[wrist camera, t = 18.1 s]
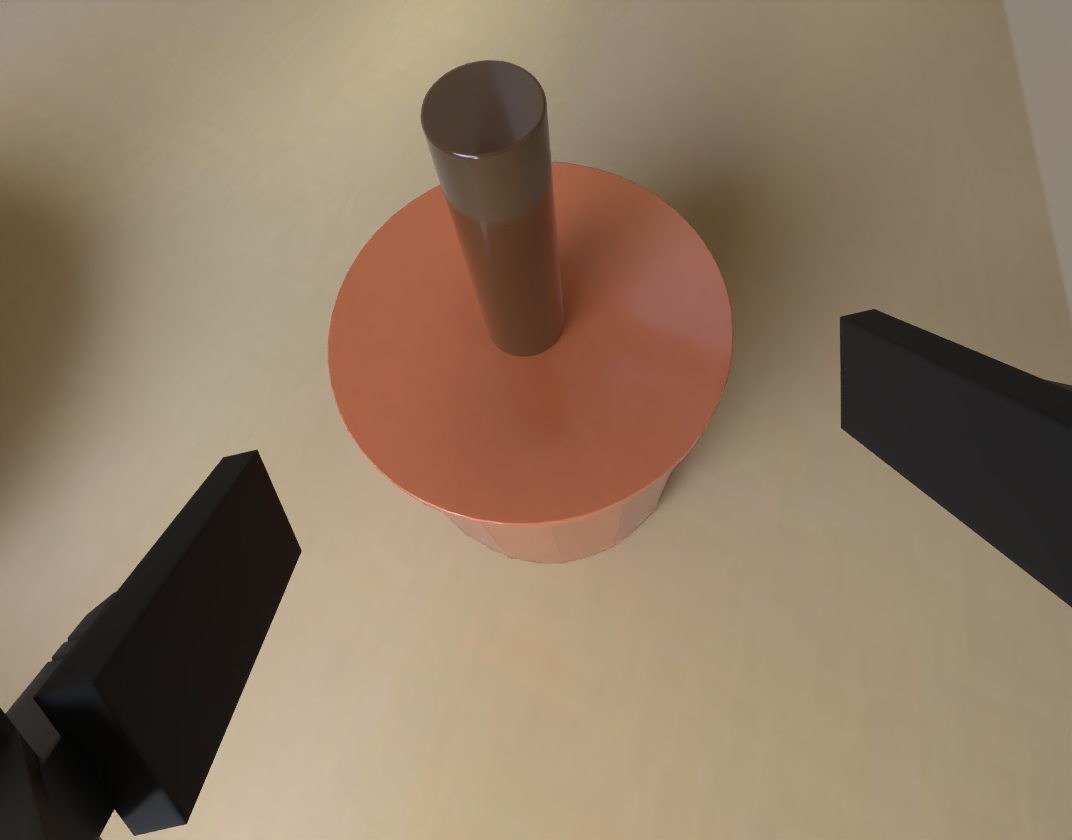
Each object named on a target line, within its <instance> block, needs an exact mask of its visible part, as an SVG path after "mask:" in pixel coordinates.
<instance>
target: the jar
mask: <svg viewBox="0 0 1072 840" xmlns="http://www.w3.org/2000/svg"><path fill="white" fill-rule="evenodd" d="M673 469H674V468H673ZM673 469H672V470H671V471H670V472H669V473H668V474H667V475H666V476H665V477H664V478H662V479H661V480H660V481H658V482H657V483H656V484H654V485H653V486H652V487H650V488H649V489H648V490H646V491H645V492H644V493H642V494H640V495H638V496H637V497H635V498H633V499H631V500H630V501H628V502H626V503H624V504H622V505H621V506H619V507H616V508H614V509H611V510H609V511H606V512H604V513H601V514H599V515H596V516H594V517H591V518H587V519H583V520H579V521H575V522H571V523H567V524H563V525H555V526H547V527H539V528H505V527H498V526H491V525H484V524H477V523H474V522H470V521H467V520H463V519H460V518H456V517H453V516H450V515H448V514H445V513H443V512H442V513H443V514H444V515H445V516H446V517H447V518H449V519H450V520H451V521H452V522H453V523H454V524H455V525H456V526H457V527H458V528H459V529H460V530H461V531H462V532H463V533H464V534H465V535H467V536H468V537H470V538H472V539H474V540H476V541H478V542H480V543H481V544H483V545H485V546H486V547H488V548H489V549H492V550H494V551H496V552H498V553H501V554H502V555H504V556H506V557H508V558H511V559H519V560H524V561H530V562H537V563H563V562H564V563H565V562H568V561H574V560H577V559H581V558H585V557H589V556H592V555H594V554H596V553H599V552H601V551H604V550H606V549H608V548H611V547H613V546H614V545H616V544H617V543H619V542H620V541H621V540H623V539H624V538H625V537H626V536H628V535H629V534H630V533H632V532H633V531H634V530H635V529H636V528H637V527H638V526H639V525H640V524H641V523H642V522H643V521H644V520H645V519H646V518H647V517H648V516H649V515H650V514H652V512H653V511H654V510H655V508H656V505H657V503H658V501H659V499H660V497H661V495H662V493H663V491H664V488H665V486H666V484H667V482H668V480H669V478H670V476H671V474H672V471H673Z"/></svg>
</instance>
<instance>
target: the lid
mask: <svg viewBox="0 0 1072 840" xmlns="http://www.w3.org/2000/svg"><path fill="white" fill-rule="evenodd" d="M421 124H422V128H423V131H424V135H425V138H426V141H427V144H428V147H429V150H430V153H431V156H432V159H433V163H434V166H435V169H436V172H437V175H438V178H439V181H440V184H441V185H439V186H437V187H435V188H433V189H431V190H429V191H427V192H426V193H424V194H423V195H421V196H419V197H418V198H416V199H415V200H413V201H411V202H410V203H409V204H407V205H406V206H405V207H403V208H402V209H401V210H400V211H398V212H397V213H396V214H395V215H393V216H392V217H391V218H390V219H389V220H388V221H387V222H386V223H385V224H384V225H383V226H382V227H381V228H380V229H379V230H378V231H377V232H376V233H375V234H374V235H373V236H372V238H371V239H370V240H369V241H368V243H367V244H366V245H365V247H364V248H363V249H362V250H361V252H360V253H359V255H358V256H357V258H356V260H355V261H354V263H353V264H352V266H351V268H350V269H349V271H348V273H347V275H346V277H345V280H344V282H343V284H342V286H341V288H340V291H339V293H338V296H337V300H336V303H335V306H334V310H333V313H332V317H331V324H330V330H329V337H328V366H329V373H330V381H331V387H332V390H333V394H334V397H335V400H336V404H337V407H338V410H339V412H340V414H341V416H342V419H343V421H344V423H345V425H346V427H347V429H348V431H349V433H350V434H351V436H352V437H353V439H354V440H355V442H356V443H357V445H358V446H359V448H360V450H361V451H362V452H363V453H364V454H365V456H366V457H367V458H368V459H369V460H370V461H371V462H372V463H373V465H374V466H375V467H376V468H377V469H378V470H379V471H380V472H381V473H382V474H383V475H385V476H386V477H387V478H388V479H389V480H391V481H392V482H393V483H394V484H395V485H397V486H398V487H399V488H400V489H401V490H403V491H404V492H406V493H407V494H409V495H410V496H412V497H414V498H415V499H417V500H419V501H420V502H422V503H423V504H425V505H427V506H429V507H432V508H434V509H436V510H438V511H441V512H443V513H445V514H448V515H450V516H453V517H456V518H460V519H463V520H467V521H470V522H474V523H477V524H484V525H491V526H498V527H505V528H539V527H547V526H555V525H563V524H567V523H571V522H575V521H579V520H583V519H587V518H591V517H594V516H596V515H599V514H601V513H604V512H606V511H609V510H611V509H614V508H616V507H619V506H621V505H622V504H624V503H626V502H628V501H630V500H631V499H633V498H635V497H637V496H638V495H640V494H642V493H644V492H645V491H646V490H648V489H649V488H650V487H652V486H653V485H654V484H656V483H657V482H658V481H660V480H661V479H662V478H664V477H665V476H666V475H667V474H668V473H669V472H670V471H671V470H672V469H673V468H674V467H675V466H676V465H677V464H678V463H679V462H680V461H681V460H682V459H683V458H684V457H685V456H686V455H687V454H688V453H689V451H690V450H691V449H692V447H693V446H694V445H695V443H696V442H697V441H698V439H699V438H700V437H701V435H702V434H703V432H704V430H705V429H706V427H707V425H708V423H709V421H710V420H711V418H712V416H713V414H714V412H715V410H716V408H717V406H718V404H719V401H720V399H721V396H722V393H723V391H724V388H725V385H726V383H727V379H728V374H729V369H730V365H731V360H732V352H733V335H734V331H733V320H732V309H731V304H730V300H729V296H728V292H727V288H726V284H725V282H724V279H723V277H722V275H721V272H720V270H719V267H718V265H717V263H716V261H715V259H714V257H713V256H712V254H711V252H710V251H709V249H708V247H707V246H706V244H705V242H704V241H703V240H702V238H701V237H700V236H699V235H698V233H697V232H696V231H695V230H694V228H693V227H692V226H691V225H690V224H689V223H688V222H687V221H686V220H685V219H684V218H683V217H682V216H681V215H680V214H679V213H678V212H677V211H676V210H675V209H674V208H673V207H671V206H670V205H669V204H667V203H666V202H664V201H663V200H662V199H660V198H659V197H658V196H656V195H655V194H653V193H652V192H650V191H648V190H646V189H645V188H643V187H641V186H639V185H637V184H636V183H634V182H631V181H629V180H627V179H624V178H622V177H619V176H617V175H615V174H612V173H609V172H605V171H602V170H598V169H595V168H591V167H587V166H581V165H575V164H569V163H558V162H551V150H550V137H549V125H548V113H547V102H546V96H545V93H544V90H543V89H542V87H541V85H540V83H539V82H538V81H537V79H536V78H535V77H534V76H533V75H532V74H531V73H529V72H528V71H527V70H525V69H523V68H521V67H520V66H517V65H515V64H512V63H508V62H503V61H495V60H486V61H477V62H472V63H468V64H465V65H462V66H459V67H457V68H455V69H453V70H451V71H449V72H448V73H446V74H445V75H443V76H442V77H441V78H439V79H438V80H437V81H436V82H435V83H434V84H433V86H432V87H431V88H430V89H429V91H428V93H427V94H426V96H425V98H424V101H423V104H422V109H421Z"/></svg>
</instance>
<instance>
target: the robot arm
mask: <svg viewBox="0 0 1072 840" xmlns="http://www.w3.org/2000/svg"><path fill="white" fill-rule="evenodd" d="M840 360H841V428H842V429H843V430H844V431H846V432H847V433H848V434H849V435H851V436H852V437H853V438H855V439H856V440H857V441H858V442H860V443H861V444H862V445H864V446H865V447H866V448H867V449H869V450H870V451H871V452H873V453H874V454H875V455H876V456H878V457H879V458H880V459H882V460H883V461H884V462H885V463H887V464H888V465H889V466H891V467H892V468H893V469H894V470H896V471H897V472H898V473H900V474H901V475H902V476H903V477H905V478H906V479H907V480H909V481H910V482H911V483H912V484H914V485H915V486H916V487H918V488H919V489H920V490H921V491H923V492H924V493H925V494H927V495H928V496H929V497H930V498H932V499H933V500H934V501H936V502H937V503H938V504H940V505H941V506H942V507H943V508H945V509H946V510H947V511H949V512H950V513H951V514H952V515H954V516H955V517H956V518H958V519H959V520H960V521H961V522H963V523H964V524H965V525H967V526H968V527H969V528H970V529H972V530H973V531H974V532H976V533H977V534H978V535H979V536H981V537H982V538H983V539H985V540H986V541H987V542H988V543H990V544H991V545H992V546H994V547H995V548H996V549H997V550H999V551H1000V552H1001V553H1003V554H1004V555H1005V556H1006V557H1008V558H1009V559H1010V560H1012V561H1013V562H1014V563H1015V564H1017V565H1018V566H1019V567H1021V568H1022V569H1023V570H1024V571H1026V572H1027V573H1028V574H1030V575H1031V576H1032V577H1033V578H1035V579H1036V580H1037V581H1039V582H1040V583H1041V584H1042V585H1044V586H1045V587H1046V588H1048V589H1049V590H1050V591H1051V592H1053V593H1054V594H1055V595H1057V596H1058V597H1059V598H1060V599H1062V600H1063V601H1064V602H1066V603H1067V604H1068V605H1069V606H1071V607H1072V386H1071V385H1067V384H1062V383H1057V382H1052V381H1047V380H1043V379H1041V378H1039V377H1036V376H1034V375H1031V374H1029V373H1027V372H1024V371H1022V370H1019V369H1017V368H1014V367H1012V366H1010V365H1007V364H1005V363H1002V362H1000V361H998V360H995V359H993V358H990V357H988V356H986V355H983V354H981V353H978V352H976V351H974V350H971V349H969V348H966V347H964V346H962V345H959V344H957V343H954V342H952V341H950V340H947V339H945V338H942V337H940V336H938V335H935V334H933V333H930V332H928V331H926V330H923V329H921V328H918V327H916V326H914V325H911V324H909V323H906V322H904V321H902V320H899V319H897V318H894V317H892V316H890V315H887V314H885V313H882V312H880V311H878V310H875V309H872V310H868V311H864V312H859V313H855V314H850V315H846V316H842V317H840ZM300 554H301V548H300V546H299V544H298V541H297V539H296V537H295V535H294V532H293V530H292V528H291V525H290V523H289V521H288V519H287V516H286V514H285V512H284V510H283V507H282V505H281V503H280V500H279V498H278V496H277V494H276V491H275V489H274V487H273V484H272V482H271V480H270V478H269V475H268V473H267V471H266V468H265V466H264V464H263V462H262V459H261V457H260V455H259V452H258V450H254V451H249V452H245V453H241V454H236V455H232V456H227V457H223V458H222V460H221V461H220V462H219V464H218V465H217V466H216V467H215V469H214V470H213V471H212V472H211V474H210V475H209V476H208V477H207V479H206V480H205V481H204V482H203V484H202V485H201V486H200V487H199V489H198V490H197V491H196V492H195V494H194V495H193V496H192V498H191V499H190V500H189V501H188V503H187V504H186V505H185V506H184V508H183V509H182V510H181V511H180V513H179V514H178V515H177V516H176V518H175V519H174V520H173V521H172V523H171V524H170V525H169V526H168V528H167V529H166V530H165V532H164V533H163V534H162V535H161V537H160V538H159V539H158V540H157V542H156V543H155V544H154V545H153V547H152V548H151V549H150V550H149V552H148V553H147V554H146V555H145V557H144V558H143V559H142V560H141V562H140V563H139V564H138V565H137V567H136V568H135V569H134V571H133V572H132V573H131V574H130V576H129V577H128V578H127V579H126V581H125V582H124V583H123V584H122V586H121V587H120V588H119V589H118V591H117V592H115V593H113V594H112V595H111V596H109V597H108V598H107V599H106V600H104V601H103V602H102V603H101V604H99V605H98V606H97V607H96V608H95V609H93V610H92V611H91V612H90V613H88V614H87V615H86V616H85V617H84V619H83V620H82V621H81V622H80V624H79V625H78V626H77V627H76V628H75V630H74V631H73V632H72V633H71V635H70V636H69V637H68V642H65V643H63V644H62V645H61V647H60V648H59V649H58V650H57V652H56V653H55V654H54V655H53V656H52V661H51V662H48V663H47V664H46V665H45V666H44V667H43V669H42V670H41V671H40V672H39V674H38V675H37V676H36V677H35V678H34V680H33V681H32V682H31V683H30V685H29V686H28V687H27V688H26V689H25V691H24V692H23V693H22V694H21V696H20V697H19V698H18V699H17V700H16V702H15V703H14V704H13V705H12V707H11V708H10V709H9V710H8V711H7V713H6V714H5V713H4V712H3V711H2V709H1V708H0V840H102V839H101V837H100V835H101V833H102V831H103V829H104V827H105V825H106V824H107V822H108V820H109V818H110V816H111V814H112V812H113V811H114V809H115V810H116V812H117V813H118V814H119V816H120V817H121V819H122V820H123V821H124V823H125V824H126V825H127V827H128V828H129V829H130V831H131V832H132V833H133V835H134V836H136V835H140V834H145V833H149V832H153V831H158V830H162V829H167V828H171V827H175V826H180V825H184V824H187V822H188V820H189V817H190V815H191V813H192V810H193V808H194V805H195V803H196V801H197V798H198V796H199V794H200V791H201V789H202V786H203V784H204V782H205V779H206V777H207V775H208V772H209V770H210V767H211V765H212V763H213V760H214V758H215V756H216V753H217V751H218V748H219V746H220V744H221V741H222V739H223V736H224V734H225V732H226V729H227V727H228V725H229V722H230V720H231V717H232V715H233V713H234V710H235V708H236V706H237V703H238V701H239V698H240V696H241V694H242V691H243V689H244V687H245V684H246V682H247V679H248V677H249V675H250V672H251V670H252V668H253V665H254V663H255V660H256V658H257V656H258V653H259V651H260V649H261V646H262V644H263V641H264V639H265V637H266V634H267V632H268V630H269V627H270V625H271V622H272V620H273V618H274V615H275V613H276V611H277V608H278V606H279V603H280V601H281V599H282V596H283V594H284V592H285V589H286V587H287V584H288V582H289V580H290V577H291V575H292V573H293V570H294V568H295V565H296V563H297V561H298V558H299V556H300Z"/></svg>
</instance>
